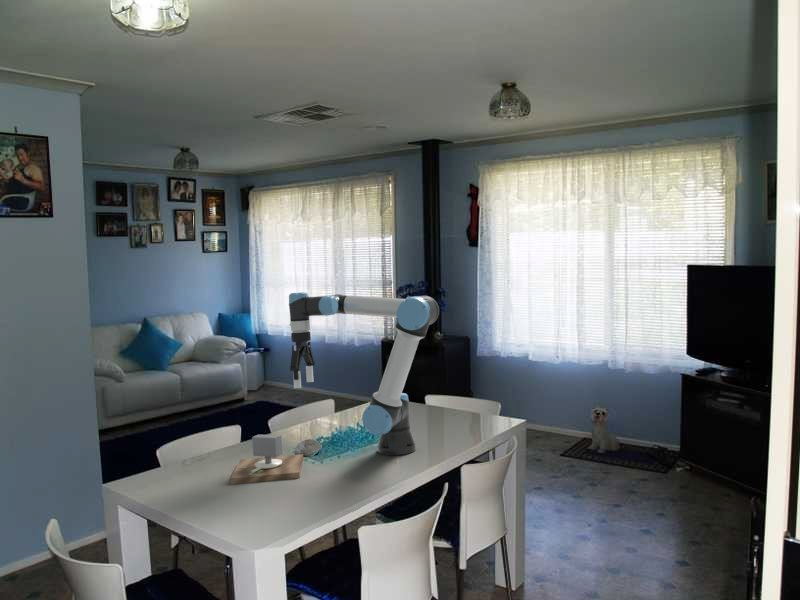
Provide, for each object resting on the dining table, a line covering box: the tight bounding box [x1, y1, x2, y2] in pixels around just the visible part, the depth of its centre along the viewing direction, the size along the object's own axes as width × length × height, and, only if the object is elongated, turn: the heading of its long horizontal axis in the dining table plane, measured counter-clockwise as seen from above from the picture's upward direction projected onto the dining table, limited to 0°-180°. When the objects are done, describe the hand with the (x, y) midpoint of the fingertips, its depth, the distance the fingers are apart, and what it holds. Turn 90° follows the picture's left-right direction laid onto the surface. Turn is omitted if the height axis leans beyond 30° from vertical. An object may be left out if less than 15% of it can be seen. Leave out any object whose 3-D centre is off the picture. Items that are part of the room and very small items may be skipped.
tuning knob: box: [251, 434, 283, 473], centre depth 233 cm, size 15×10×11 cm, turn 158°
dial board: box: [229, 454, 304, 485], centre depth 235 cm, size 24×24×2 cm
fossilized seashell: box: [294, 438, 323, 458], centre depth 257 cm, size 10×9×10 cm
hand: (304, 385), depth 251 cm, fingers open, 13 cm apart
